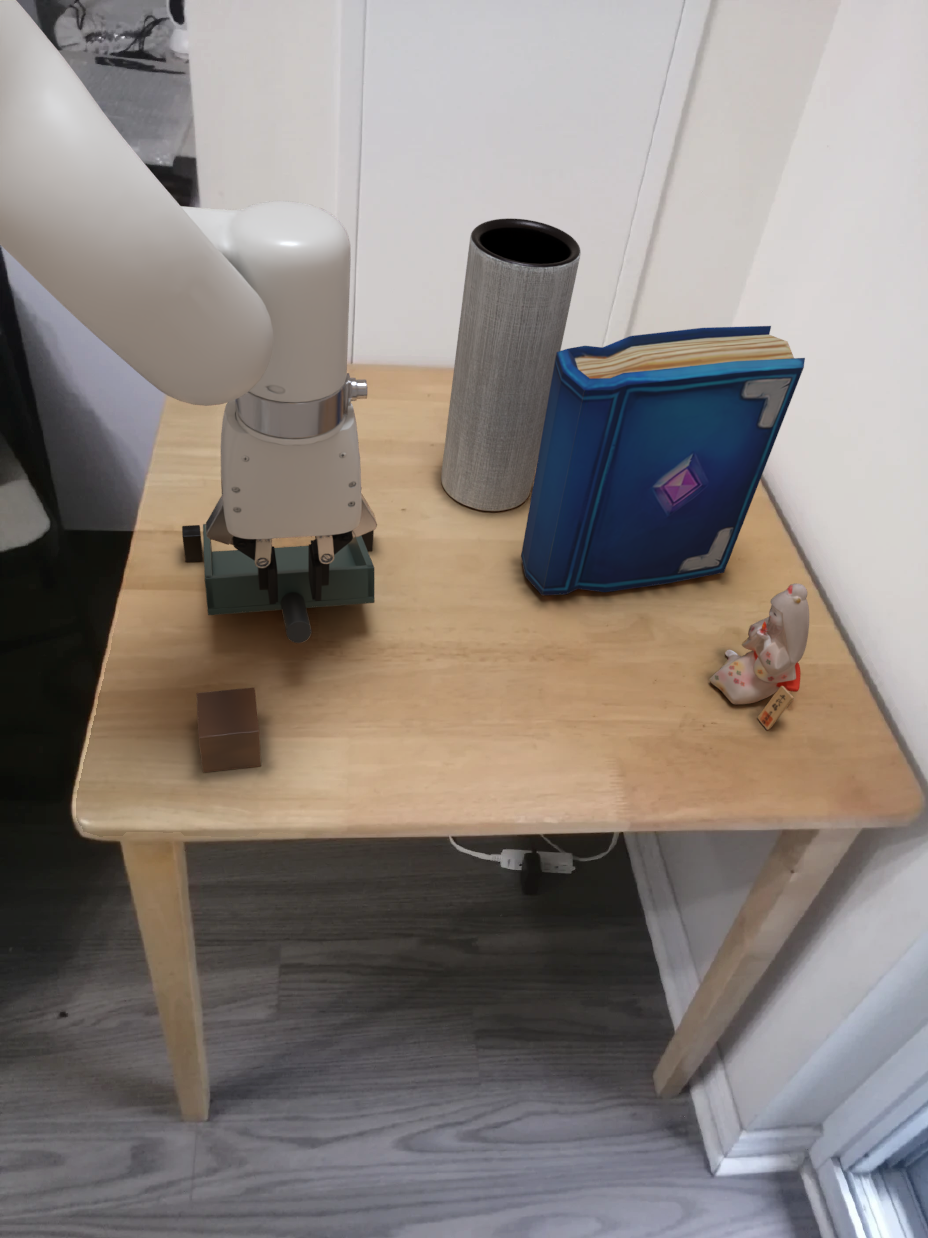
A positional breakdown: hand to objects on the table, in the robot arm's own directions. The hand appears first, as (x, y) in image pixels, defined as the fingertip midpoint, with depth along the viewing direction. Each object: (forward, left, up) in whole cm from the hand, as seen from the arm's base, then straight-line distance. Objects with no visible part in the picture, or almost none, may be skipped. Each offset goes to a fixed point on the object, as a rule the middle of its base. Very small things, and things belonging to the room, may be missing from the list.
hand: (293, 589), depth 77 cm
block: (-6, -10, -7) cm, 14 cm away
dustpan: (0, +5, -1) cm, 5 cm away
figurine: (+40, -10, -7) cm, 42 cm away
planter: (+23, +22, -7) cm, 33 cm away
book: (+33, +7, -7) cm, 35 cm away
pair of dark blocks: (0, +13, -7) cm, 15 cm away
